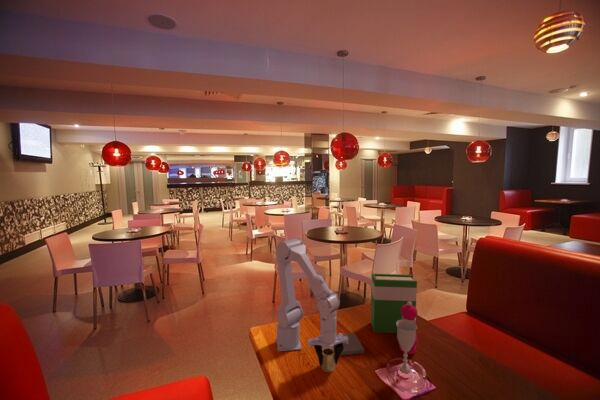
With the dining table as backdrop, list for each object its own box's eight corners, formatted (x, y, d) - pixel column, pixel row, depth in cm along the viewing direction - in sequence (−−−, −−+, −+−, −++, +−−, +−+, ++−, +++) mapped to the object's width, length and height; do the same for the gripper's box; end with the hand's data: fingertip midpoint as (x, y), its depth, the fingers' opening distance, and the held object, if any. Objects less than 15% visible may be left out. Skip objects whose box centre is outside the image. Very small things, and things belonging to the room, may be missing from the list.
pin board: (324, 357, 105) (324, 343, 105) (318, 339, 116) (318, 327, 115) (364, 352, 107) (364, 339, 107) (354, 336, 118) (354, 324, 118)
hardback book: (409, 324, 127) (411, 274, 125) (414, 333, 120) (417, 281, 118) (370, 322, 129) (372, 273, 126) (373, 331, 122) (375, 279, 119)
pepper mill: (419, 356, 105) (421, 306, 103) (399, 354, 107) (401, 305, 105) (415, 344, 112) (417, 298, 110) (396, 342, 114) (398, 296, 112)
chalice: (398, 363, 102) (400, 317, 100) (417, 371, 97) (420, 323, 95) (391, 374, 96) (393, 326, 94) (411, 384, 92) (413, 333, 90)
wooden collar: (322, 372, 97) (322, 356, 96) (319, 363, 102) (319, 347, 101) (336, 371, 98) (336, 355, 97) (332, 361, 103) (332, 346, 102)
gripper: (310, 335, 93) (310, 373, 95) (351, 332, 95) (350, 368, 97) (306, 324, 100) (306, 359, 101) (345, 321, 102) (344, 355, 104)
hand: (327, 362), depth 100 cm, fingers closed on wooden collar, 5 cm apart
